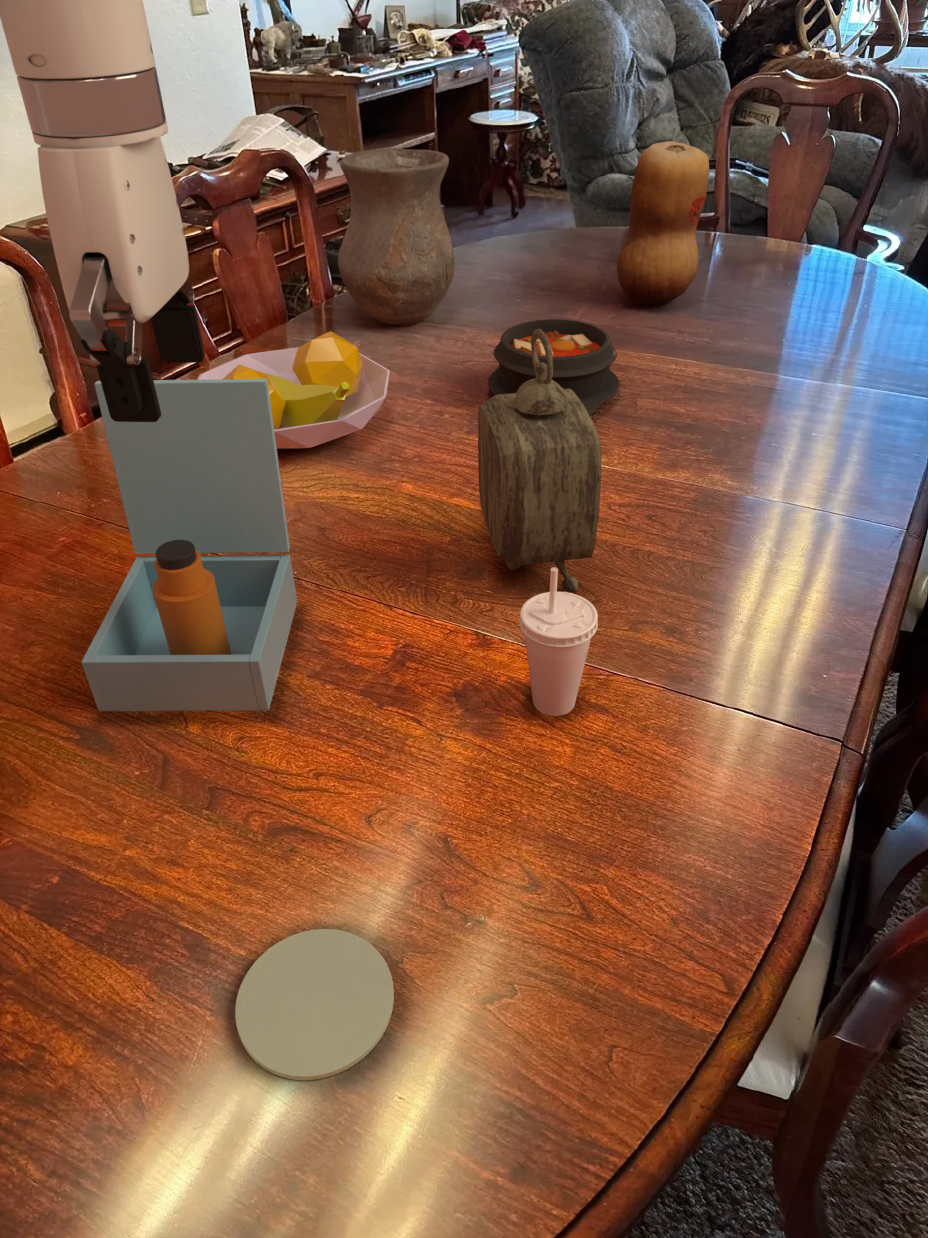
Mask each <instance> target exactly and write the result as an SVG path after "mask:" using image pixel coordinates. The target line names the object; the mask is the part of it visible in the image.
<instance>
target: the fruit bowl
mask: <svg viewBox="0 0 928 1238" xmlns="http://www.w3.org/2000/svg"><path fill="white" fill-rule="evenodd" d="M390 373H391V370H390V369H389V368H386V367H384V366H383V365H381V364H380V363H379V362H376V361H374V360H373V359H370V357H368V356H366V355H364V354H362V353H360V351H359V347H358V346H357V345H355V344H353V343H352V342H350V341H348V340H346V339H345V338H343V337H341V336H340V335H338V334H336V333H335V332H333V331H332V330H330V331H328V332H326V333H324V334H321V335H319V336H317V337H315V338H313V339H311V340H309V341H308V342H306V343H305V344H303V345H301V346H298V347H297V346H296V347H288V348H283V349H275V350H268V351H261V352H260V351H259V352H253V353H246V354H243V355H240V356H238V357H236V358H234V359H231V360H228V361H227V362H225V363H222V364H219V365H218V366H216V367H213V368H211V369H209V370H206V371H204V372H202V373H200V374H199V375H198V377H197V379H196V380H209V379H267V381H268V388H269V396H270V403H271V411H272V418H273V425H274V433H275V440H276V448H277V450H289V449H311V448H313V447H317V446H319V445H322V444H326V443H328V442H330V441H331V442H332V441H334V440H336V439H339V438H342V437H344V436H347V435H350V434H352V433H355V432H358V431H361V430H363V429H364V428H365V427H366V425H367V424H368V423H369V422H371V419H373V417H375V415H376V414H377V413H378V411H380V409H381V408H382V406H383V404H384V402H385V400H386V397H387V392H388V387H389V380H390Z"/></svg>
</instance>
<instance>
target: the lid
mask: <svg viewBox="0 0 928 1238" xmlns="http://www.w3.org/2000/svg"><path fill="white" fill-rule="evenodd" d="M153 381H154V385H155V389H156V393H157V398H158V402H159V406H160V410H161V417H160V418H159V420H158V421H157V422H116V421H114V420H112V419H111V417H110V414H109V410H108V407H107V403H106V399H105V396H104V392H103V388H102V385H101V381H100V380H96V382H94V384H93V385H94V388H95V393H96V397H97V402H98V405H99V409H100V414H101V418H102V422H103V426H104V431H105V434H106V435H105V436H106V439H107V442H108V448H109V451H110V455H111V459H112V464H113V468H114V473H115V477H116V480H117V484H118V485H117V486H118V489H119V493H120V497H121V501H122V502H121V503H122V505H123V510H124V515H125V518H126V523H127V528H128V530H129V535H130V539H131V543H132V548H133V551H134V554H136V555H137V554H139V555H140V554H156V550H157V548H158V547H159V546H161V545H162V544H164V543H166V542H169V541H173V540H187V541H190V542H191V543H193V545H194V546H195V550H196V551H198V552H199V554H225V553H226V554H239V553H240V554H243V553H244V554H245V553H248V554H249V553H255V554H256V553H260V554H261V553H289V552H290V550H291V544H290V536H289V531H288V529H289V528H288V522H287V515H286V508H285V507H286V506H285V501H284V492H283V486H282V485H283V484H282V477H281V470H280V464H279V463H280V462H279V456H278V449H277V448H276V440H275V433H274V425H273V418H272V411H271V403H270V396H269V388H268V381H267V379H209V380H197V379H153Z"/></svg>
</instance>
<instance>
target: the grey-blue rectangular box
mask: <svg viewBox="0 0 928 1238" xmlns="http://www.w3.org/2000/svg"><path fill="white" fill-rule="evenodd" d="M200 556H201V560H202V565H203V569H206V570H208V571H210V572H211V573H212V575H213V576H214V580H215V584H216V589H217V593H218V598H219V602H220V606H221V611H222V615H223V620H224V624H225V629H226V633H227V637H228V642H229V646H230V651H231V655H170V651H169V647H168V644H167V640H166V637H165V633H164V629H163V626H162V622H161V619H160V615H159V611H158V608H157V604H156V601H155V597H154V593H153V585H154V583H155V581H156V580H157V579H158V575H157V572H156V568H155V560H156V558H157V557H156V555H137V556H136V557H135V560H134V561H133V564H132V565H131V567H130V569H129V571H128V573H127V574H126V577H125V578H124V580H123V582H122V584H121V586H120V588H119V590H118V591H117V594H116V595H115V597H114V599H113V601H112V602H111V605H110V607H109V608H108V611H107V613H106V614H105V617H104V618H103V620H102V622H101V624H100V626H99V627H98V630H97V631H96V633H95V636H94V637H93V639H92V641H91V643H90V645H89V647H88V649H87V650H86V652H85V654H84V656H83V658H82V660H81V662H80V663H81V666H82V668H83V671H84V674H85V677H86V680H87V683H88V685H89V688H90V691H91V693H92V697H93V699H94V703H95V705H96V707H97V710H98V712H208V711H211V712H221V711H222V712H225V711H226V712H234V711H236V712H237V711H239V712H240V711H241V712H243V711H246V712H248V711H249V712H251V711H253V712H254V711H256V712H257V711H270V708H271V704H272V701H273V697H274V693H275V689H276V684H277V681H278V677H279V673H280V671H281V665H282V661H283V658H284V655H285V650H286V646H287V643H288V638H289V635H290V631H291V628H292V623H293V620H294V615H295V612H296V608H297V605H298V597H297V589H296V583H295V578H294V571H293V565H292V558H291V555H290V554H233V555H232V554H230V555H229V554H228V555H227V554H224V555H223V554H222V555H220V554H219V555H217V554H216V555H213V554H211V555H209V554H208V555H200Z"/></svg>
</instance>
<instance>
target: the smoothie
mask: <svg viewBox="0 0 928 1238" xmlns="http://www.w3.org/2000/svg"><path fill="white" fill-rule="evenodd" d="M558 574H559V569H558V567H557V566H555V567H551V568H550V577H549V579H550V580H549V591H547V592H542V593H539V594H535V595H534V596H532V597H530V598H529V599H527V600H526V601H524V603H523V604H522V606H521V609H520V613H519V621H518V623H519V628H520V630H521V631H522V632H523V634H524V643H525V649H526V658H527V666H528V675H529V683H530V690H531V698H532V704H533V706H534V708H535V709H536V711H538V712H540V713H541V714H544V715H546V716H550V717H552V716H553V717H560V716H564V715H566V714H568V713H570V712H572V710H573V709H574V708H575V705H576V702H577V697H578V693H579V690H580V685H581V681H582V677H583V673H584V668H585V665H586V660H587V656H588V653H589V648H590V646H591V640H592V637H594V636H595V635H596V632H597V630H598V628H599V621H598V620H599V614H598V611H597V609H596V607H595V605H594V604H593V603H592V602H590V601H589V600H588V599H586V598H585V597H583V596H581V595H578V594H575V593H573V592H570V593H569V592H566V591H558Z"/></svg>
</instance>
